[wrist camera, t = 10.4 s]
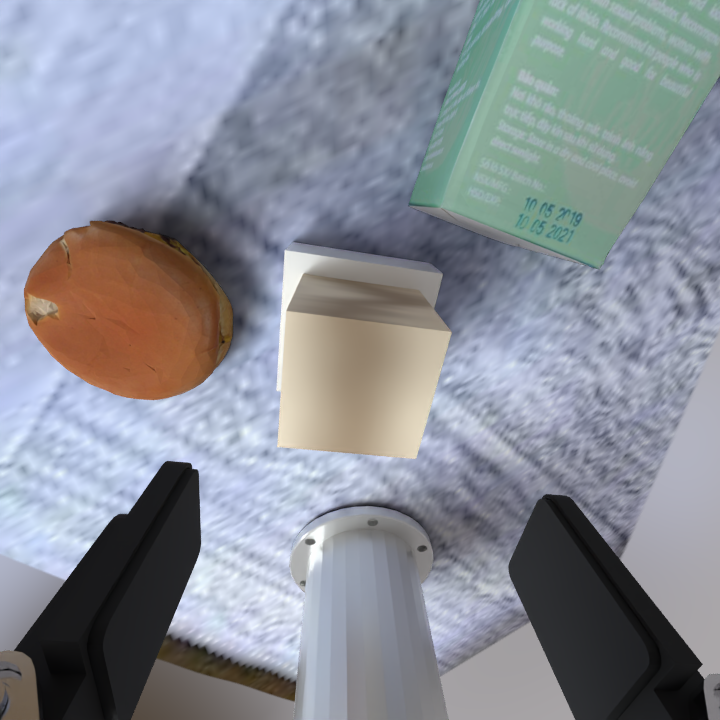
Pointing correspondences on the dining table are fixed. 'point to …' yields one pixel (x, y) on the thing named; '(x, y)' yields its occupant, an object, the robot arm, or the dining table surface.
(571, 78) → the box
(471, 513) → the dining table surface
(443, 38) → the dining table surface
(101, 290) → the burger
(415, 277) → the white slab
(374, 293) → the maple block
